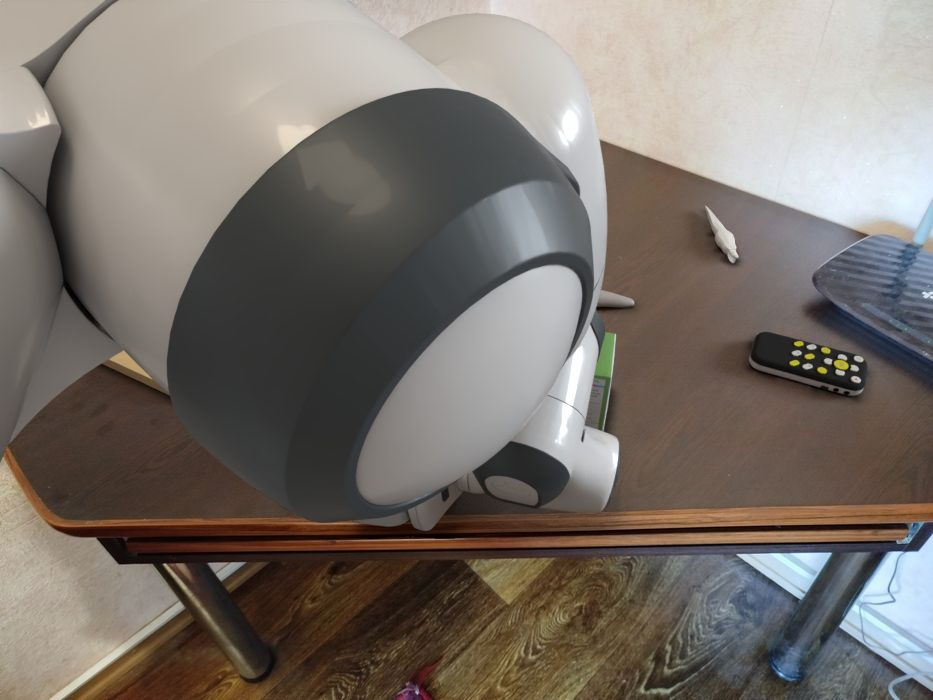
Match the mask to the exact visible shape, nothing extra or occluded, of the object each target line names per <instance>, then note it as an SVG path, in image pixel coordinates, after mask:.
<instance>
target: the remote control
mask: <svg viewBox="0 0 933 700" xmlns="http://www.w3.org/2000/svg"><path fill="white" fill-rule="evenodd" d="M748 362H749V364H750V366H751V367H752V368H753V369H755V370H756V371H759V372H762V373H767V374H770V375H774V376H778V377H781V378H784V379H789V380H792V381H795V382H799V383H803V384H805V385H810V386H812V387H817V388H820V389H823V390H827V391H831V392H835V393H837V394H841V395H845V396H858V395H860V394H861V393H862V392H863V391H864V389H865V388H866V382H867V373H868V363H867V361H866V359H865V358H864V357H863V356H861V355H859V354H856V353H852V352H848V351H845V350H842V349H836V348H833V347H829V346H825V345H822V344H818V343H814V342H810V341H806V340H802V339H798V338H794V337H791V336H787V335H783V334H779V333H775V332H772V331H761V332H759V333H758V334H756V335H755V337H754V340H753V343H752V346H751V349H750V353H749V357H748Z"/></svg>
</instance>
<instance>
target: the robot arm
mask: <svg viewBox="0 0 933 700" xmlns="http://www.w3.org/2000/svg"><path fill="white" fill-rule="evenodd" d="M598 129H599V128H598V124H597V120H596V116H595V112H594V108H593V103H592V98H591V95H590V92H589V89H588V87H587V84H586V81H585V79H584V76H583V74H582V72H581V70H580V69H579V67H578V65H577V63H576V62H575V60H574V59H573V58H572V56H571V55H570V54H569V52H567V51H566V49H565V48H564V47H563V46H562V45H561V44H560V43H559V42H558V41H557V40H555V39H554V38H553V37H551V35H549V34H548V33H546V32H545V31H543V30H542V29H540V28H538V27H536V26H535V25H532V24H530V23H528V22H526V21H523V20H520V19H519V18H514V17H511V16H507V15H501V14H494V13H483V12H482V13H481V12H480V13H479V12H474V13H473V12H472V13H461V14H454V15H450V16H445V17H441V18H438V19H435V20H431V21H429V22H426V23H425V24H422V25H420V26H417V27H416V28H414V29H412V30H410V31H408V32H407V33H405V34H404V35H402V36H400V37H398V36H396V35H395V34H393V33H392V32H390V31H389V30H388V29H387V28H386V27H384V26H383V25H381V24H380V23H379V22H377V21H376V20H375V19H373V18H372V17H371V16H369V15H368V14H366V13H365V12H363V11H362V10H361V9H360V8H359V6H357V4H356V3H355V2H354V1H353V0H0V463H2V460H3V458H4V456H5V454H6V451H7V449H8V446H9V444H11V443H12V442H13V441H14V440H15V439H16V437H17V436H18V435H19V434H20V433H21V431H22V430H23V429H24V428H25V427H26V426H27V425H28V424H29V423H30V422H31V421H32V420H33V419H34V418H35V416H37V414H39V413H40V412H41V410H43V409H44V408H45V407H46V406H47V405H49V403H50V402H52V401H53V400H54V399H55V398H56V397H57V396H59V395H60V394H61V393H62V392H64V391H65V390H66V389H67V388H68V387H70V386H71V385H73V384H74V383H75V382H76V381H78V380H79V379H81V378H82V377H83V376H85V375H87V374H88V373H89V372H91V371H92V370H94V369H95V368H97V367H98V366H100V365H102V364H101V363H103V362H105V361H107V360H108V359H110V358H112V357H113V356H115V355H117V354H118V353H120V352H122V351H123V350H124V351H125V352H126V353H127V354H128V355H129V356H130V357H131V358H132V359H133V360H134V361H135V362H136V363H137V364H138V365H139V366H140V367H141V368H142V369H143V370H144V371H145V372H146V373H147V374H148V375H149V376H150V377H151V378H152V379H153V380H154V381H155V382H156V383H157V384H158V385H159V386H160V387H161V388H162V389H163V390H164V391H165V392H166V393H167V394H166V395H168V396H169V397H170V401H171V404H172V408H173V410H174V411H173V412H175V415H176V417H177V419H178V421H179V422H180V424H181V425H182V427H183V428H184V430H185V432H186V433H188V435H189V436H190V437H191V438H192V439H193V440H194V441H195V442H196V443H197V444H198V445H200V446H201V447H202V448H203V449H204V450H205V451H207V452H208V453H209V455H211V456H212V457H213V458H214V459H215V460H217V461H218V462H219V463H220V464H221V465H222V466H224V467H225V468H226V469H228V470H229V471H230V472H231V473H232V474H234V475H235V476H236V477H238V478H239V479H240V480H241V481H243V482H244V483H245V484H246V485H248V486H249V487H251V488H253V490H256V491H257V492H258V493H259V494H262V495H263V496H264V497H266V498H268V499H269V500H270V501H272V502H273V503H275V504H277V505H278V506H279V507H281V508H282V509H285V510H286V511H288V512H291V513H293V514H294V515H297V516H298V517H300V518H302V519H304V520H305V521H309V522H313V523H318V524H328V523H329V524H330V523H342V522H355V523H360V524H365V525H370V526H371V525H372V526H377V527H387V528H388V527H390V528H392V527H397V526H401V525H403V524H405V523H407V522H409V520H410V523H411V525H412V527H413V528H414V529H417V530H420V531H424V532H428V531H431V530H432V529H433V528H434V527H435V526H436V525H437V524H438V523H439V521H440V520H441V519H442V517H443V516H444V515H445V514H446V512H447V511H448V510H449V508H450V507H452V505H453V504H454V503H455V502H456V500H458V498H459V497H461V495H462V494H463V493H464V492H466V493H471V494H485V495H487V496H488V497H489V498H491V499H493V500H496V501H499V502H502V503H506V504H511V505H514V506H515V505H516V506H520V507H524V508H529V509H534V510H535V509H539V508H540V509H545V510H552V511H559V512H566V513H567V512H569V513H578V514H579V513H580V514H600V513H601V512H602V511H604V509H605V508H606V507H607V506H608V505H609V503H610V501H611V499H612V497H613V495H614V490H615V487H616V485H617V481H618V478H619V477H618V476H619V472H620V467H621V455H622V454H621V446H620V442H619V439H618V437H616V436H615V435H613V434H611V433H608V432H606V431H600V430H598V429H595V428H591V427H588V426H585V420H586V415H587V410H588V405H589V400H590V394H591V389H592V384H593V379H594V374H595V369H596V364H597V362H598V359H599V356H600V352H601V348H602V345H603V341H604V337H605V332H606V327H605V323H604V321H603V319H602V317H601V315H600V314H599V312H598V310H597V308H598V307H597V303H598V300H599V296H600V292H601V290H602V288H603V282H604V277H605V270H606V261H607V246H608V196H607V184H606V174H605V164H604V159H603V153H602V147H601V140H600V136H599V135H600V134H599V130H598Z"/></svg>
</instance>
